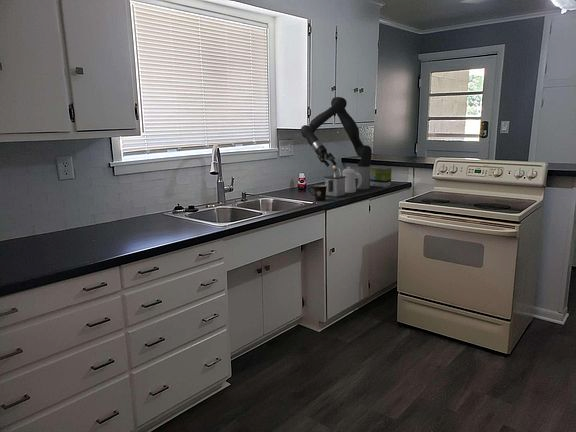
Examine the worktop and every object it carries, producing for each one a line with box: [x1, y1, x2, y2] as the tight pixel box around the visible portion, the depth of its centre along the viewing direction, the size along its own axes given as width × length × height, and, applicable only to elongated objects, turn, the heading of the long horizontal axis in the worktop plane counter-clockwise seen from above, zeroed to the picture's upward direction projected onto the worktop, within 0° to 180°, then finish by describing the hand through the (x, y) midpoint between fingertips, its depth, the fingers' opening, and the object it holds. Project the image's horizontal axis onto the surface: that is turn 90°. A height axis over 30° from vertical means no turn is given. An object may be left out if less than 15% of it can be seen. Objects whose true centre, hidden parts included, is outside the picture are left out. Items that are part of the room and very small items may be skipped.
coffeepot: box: [337, 166, 362, 194], centre depth 324 cm, size 11×25×19 cm, turn 42°
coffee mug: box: [308, 184, 327, 202], centre depth 294 cm, size 12×9×10 cm
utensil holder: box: [323, 174, 346, 199], centre depth 307 cm, size 12×11×14 cm
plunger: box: [332, 165, 339, 177], centre depth 306 cm, size 8×8×20 cm
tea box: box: [370, 166, 393, 188], centre depth 351 cm, size 15×10×15 cm, turn 49°
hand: (332, 165), depth 306 cm, fingers open, 8 cm apart
